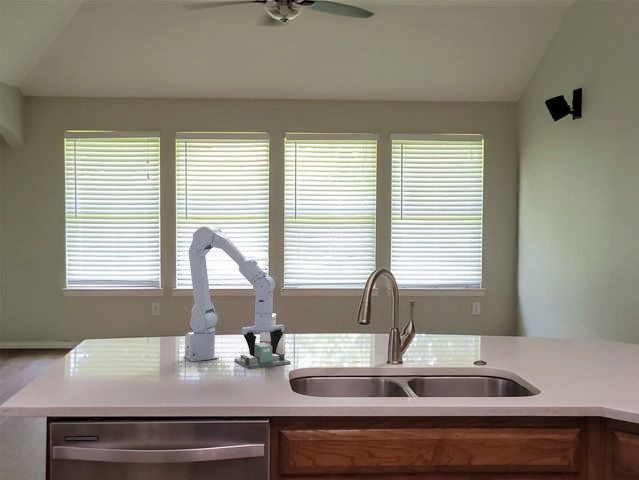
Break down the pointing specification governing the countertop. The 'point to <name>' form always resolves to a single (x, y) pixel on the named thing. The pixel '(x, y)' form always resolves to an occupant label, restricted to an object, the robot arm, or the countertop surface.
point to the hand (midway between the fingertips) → (262, 354)
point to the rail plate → (254, 362)
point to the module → (263, 352)
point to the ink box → (266, 335)
